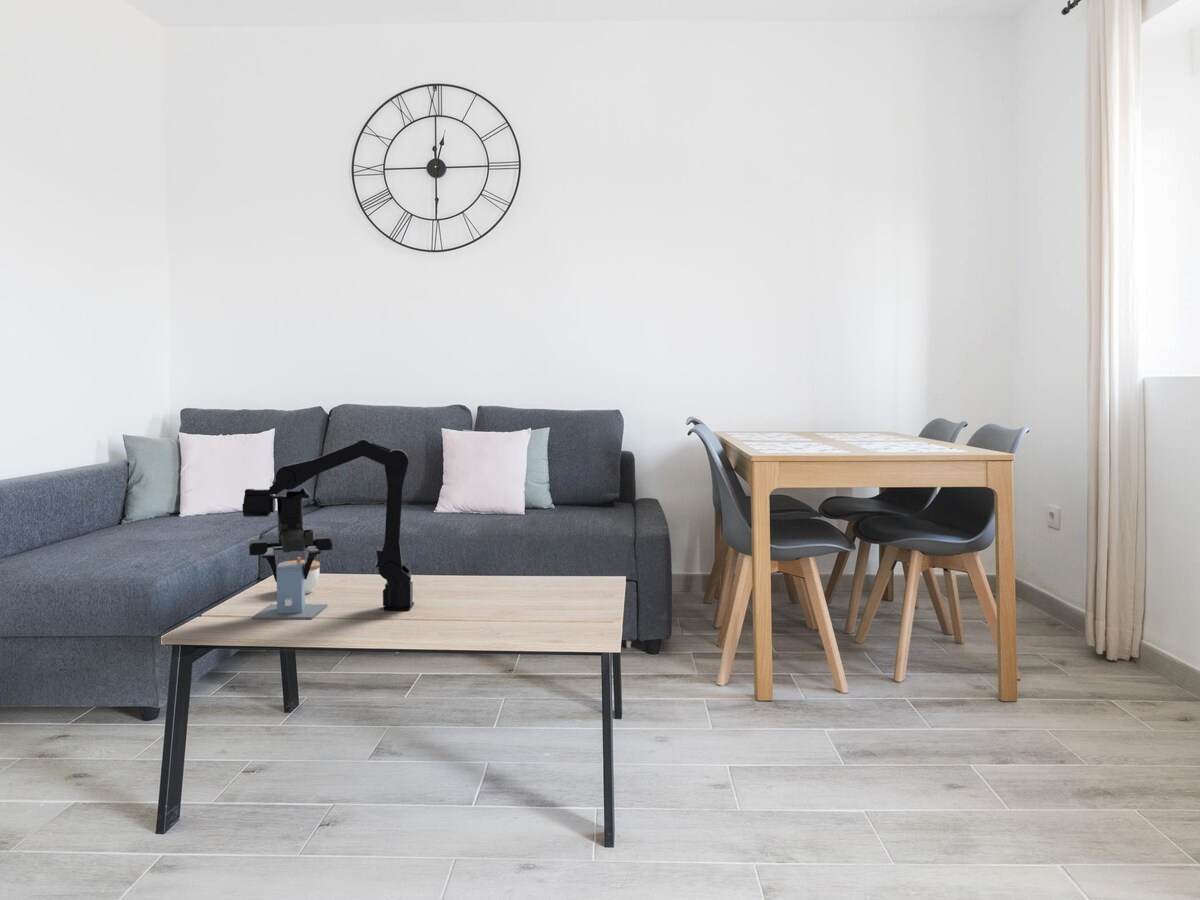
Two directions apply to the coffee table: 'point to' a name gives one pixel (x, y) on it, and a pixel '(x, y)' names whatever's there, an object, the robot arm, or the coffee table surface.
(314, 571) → the lidded jar
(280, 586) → the tall blue rectangular block
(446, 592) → the coffee table surface
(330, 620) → the coffee table surface
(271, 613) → the flat square base plate
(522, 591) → the coffee table surface
